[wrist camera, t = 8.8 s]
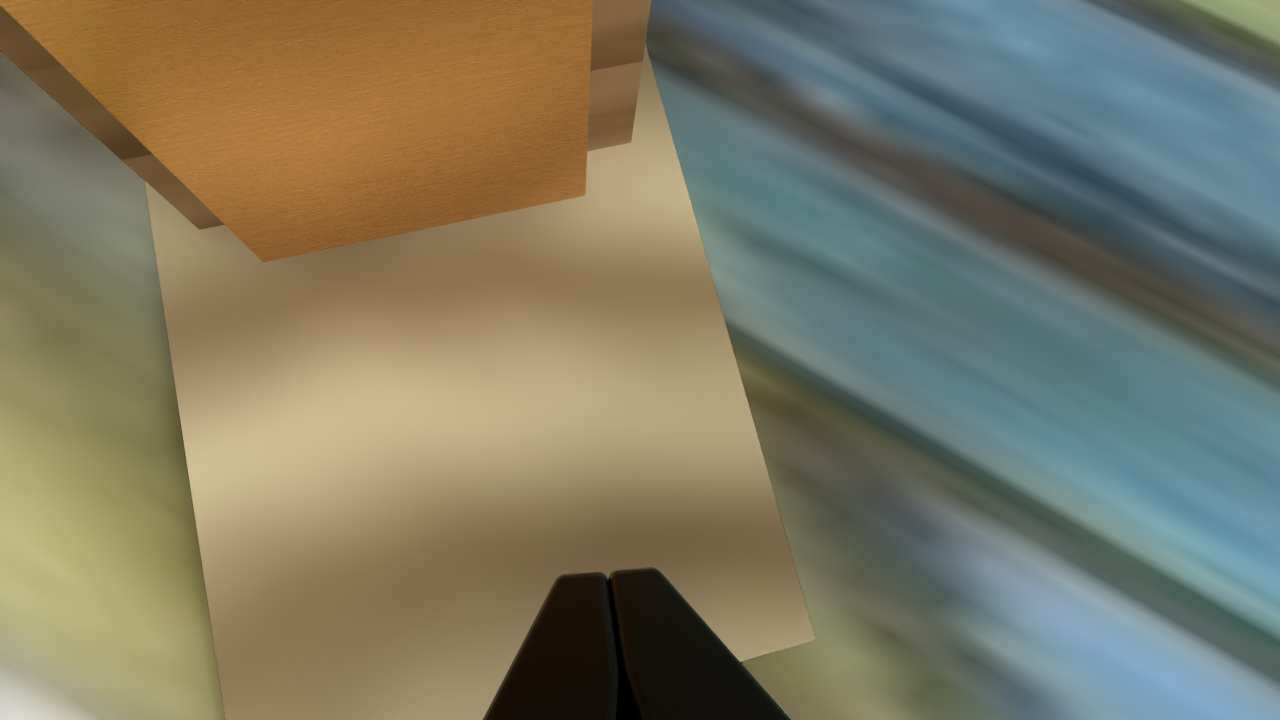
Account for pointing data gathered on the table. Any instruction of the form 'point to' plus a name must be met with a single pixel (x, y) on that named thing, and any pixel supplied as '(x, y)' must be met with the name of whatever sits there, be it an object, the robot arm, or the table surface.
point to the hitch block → (458, 422)
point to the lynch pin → (340, 106)
